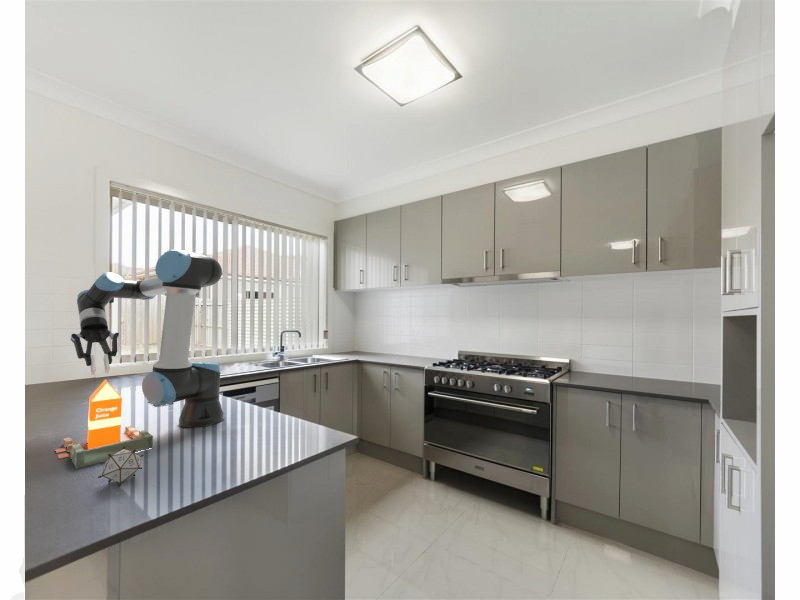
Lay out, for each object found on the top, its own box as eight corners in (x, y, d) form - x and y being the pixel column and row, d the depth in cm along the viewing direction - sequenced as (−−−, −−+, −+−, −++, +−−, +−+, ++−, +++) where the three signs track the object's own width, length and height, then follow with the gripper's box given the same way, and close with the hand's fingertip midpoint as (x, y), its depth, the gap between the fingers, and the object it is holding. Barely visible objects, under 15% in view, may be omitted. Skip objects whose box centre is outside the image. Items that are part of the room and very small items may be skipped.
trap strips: (54, 450, 102) (54, 449, 102) (64, 448, 103) (64, 447, 103) (59, 459, 95) (59, 458, 95) (69, 457, 97) (69, 456, 97)
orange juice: (117, 436, 114) (120, 377, 115) (120, 443, 108) (123, 381, 109) (86, 442, 108) (89, 380, 109) (87, 450, 102) (90, 384, 103)
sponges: (155, 408, 151) (156, 403, 151) (148, 403, 159) (148, 399, 159) (173, 404, 157) (173, 400, 157) (165, 400, 165) (165, 396, 165)
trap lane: (63, 445, 106) (64, 432, 106) (130, 431, 119) (130, 419, 119) (76, 468, 90) (77, 453, 90) (152, 449, 103) (152, 435, 103)
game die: (117, 495, 83) (121, 454, 89) (151, 481, 84) (153, 442, 89) (85, 493, 76) (91, 449, 81) (122, 478, 77) (127, 435, 82)
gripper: (118, 329, 134) (127, 375, 123) (62, 330, 121) (66, 381, 110) (122, 315, 131) (132, 361, 120) (65, 315, 118) (69, 366, 107)
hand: (100, 371), depth 115 cm, fingers open, 3 cm apart
